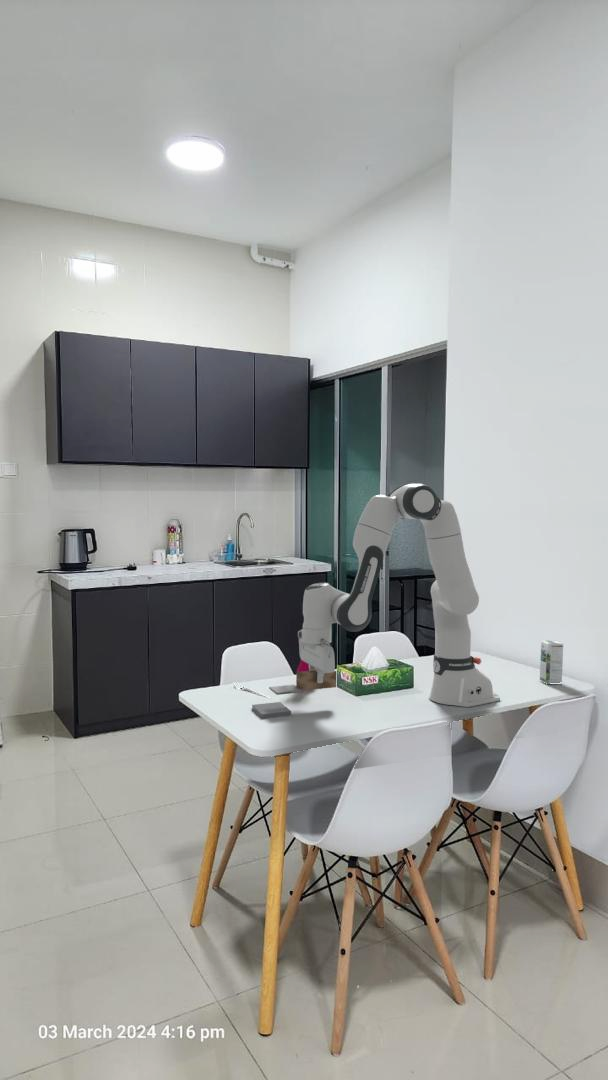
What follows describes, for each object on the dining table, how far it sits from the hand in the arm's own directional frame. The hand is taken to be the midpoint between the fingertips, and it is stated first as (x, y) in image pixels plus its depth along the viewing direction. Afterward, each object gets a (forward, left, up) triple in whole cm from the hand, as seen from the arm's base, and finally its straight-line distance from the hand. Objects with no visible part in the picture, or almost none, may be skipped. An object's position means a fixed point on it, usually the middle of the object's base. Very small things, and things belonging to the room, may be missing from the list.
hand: (316, 680), depth 224 cm
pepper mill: (-6, -23, -8) cm, 25 cm away
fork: (+13, -23, -9) cm, 28 cm away
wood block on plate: (+4, 0, -2) cm, 5 cm away
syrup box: (-88, +1, -8) cm, 88 cm away
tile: (+10, 0, -8) cm, 13 cm away
